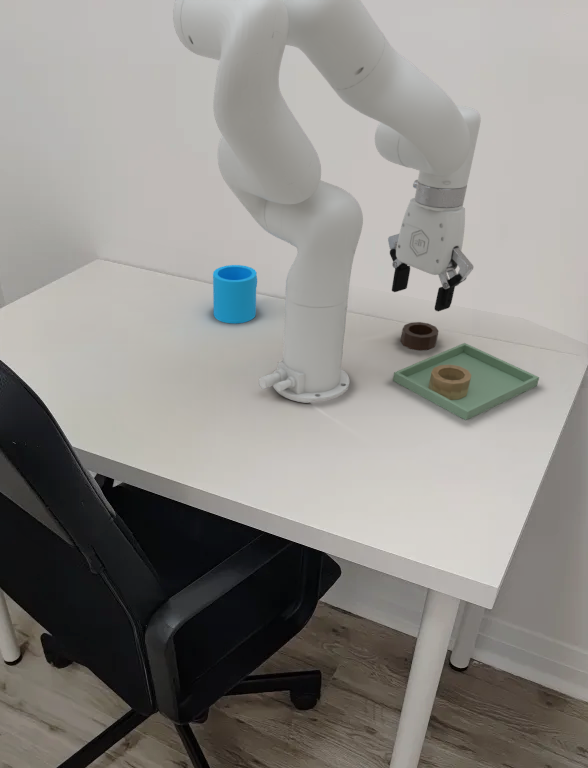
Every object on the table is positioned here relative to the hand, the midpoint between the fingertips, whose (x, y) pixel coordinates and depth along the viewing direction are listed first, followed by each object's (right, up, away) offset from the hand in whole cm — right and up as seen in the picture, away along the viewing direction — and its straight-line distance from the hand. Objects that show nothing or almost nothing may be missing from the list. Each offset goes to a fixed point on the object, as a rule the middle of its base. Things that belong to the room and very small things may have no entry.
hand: (420, 299), depth 131 cm
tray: (+6, -16, -5) cm, 17 cm away
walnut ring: (+1, -6, +6) cm, 9 cm away
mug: (-30, +3, +19) cm, 36 cm away
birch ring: (+3, -17, -7) cm, 18 cm away
